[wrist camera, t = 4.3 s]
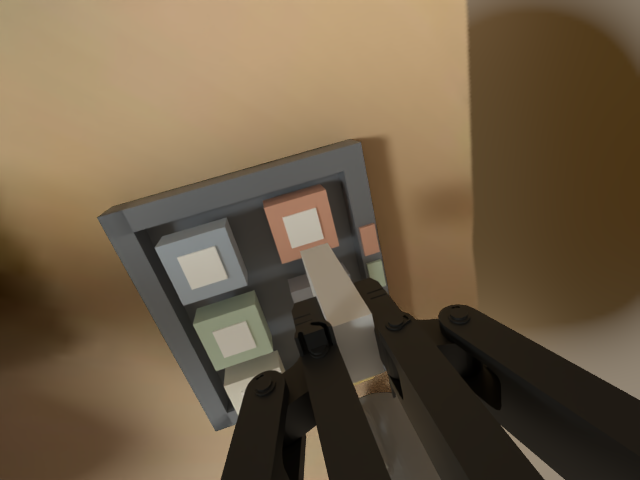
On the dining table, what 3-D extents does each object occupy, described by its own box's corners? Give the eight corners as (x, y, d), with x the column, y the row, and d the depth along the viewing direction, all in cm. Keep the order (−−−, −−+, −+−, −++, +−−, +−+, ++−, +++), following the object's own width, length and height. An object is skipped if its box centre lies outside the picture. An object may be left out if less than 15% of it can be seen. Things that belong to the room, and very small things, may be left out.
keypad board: (218, 407, 32) (215, 434, 29) (112, 206, 24) (95, 218, 21) (391, 347, 34) (403, 367, 31) (350, 139, 25) (362, 142, 23)
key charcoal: (302, 324, 27) (306, 341, 25) (287, 279, 25) (291, 293, 23) (353, 307, 27) (361, 323, 25) (342, 262, 26) (350, 274, 24)
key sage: (218, 353, 26) (215, 372, 24) (196, 308, 25) (192, 325, 23) (271, 335, 27) (273, 353, 25) (254, 290, 25) (255, 305, 23)
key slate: (188, 290, 24) (182, 307, 22) (162, 236, 22) (153, 248, 20) (247, 272, 24) (247, 286, 22) (226, 217, 23) (224, 227, 21)
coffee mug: (420, 435, 40) (472, 533, 31) (344, 469, 39) (373, 578, 30) (397, 355, 34) (451, 445, 25) (308, 393, 34) (330, 498, 25)
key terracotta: (279, 253, 26) (282, 264, 24) (262, 200, 24) (263, 208, 22) (332, 236, 26) (339, 246, 24) (320, 183, 25) (326, 190, 23)
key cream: (243, 404, 29) (242, 426, 27) (225, 367, 27) (223, 388, 25) (291, 387, 29) (295, 407, 27) (277, 350, 27) (279, 368, 25)
